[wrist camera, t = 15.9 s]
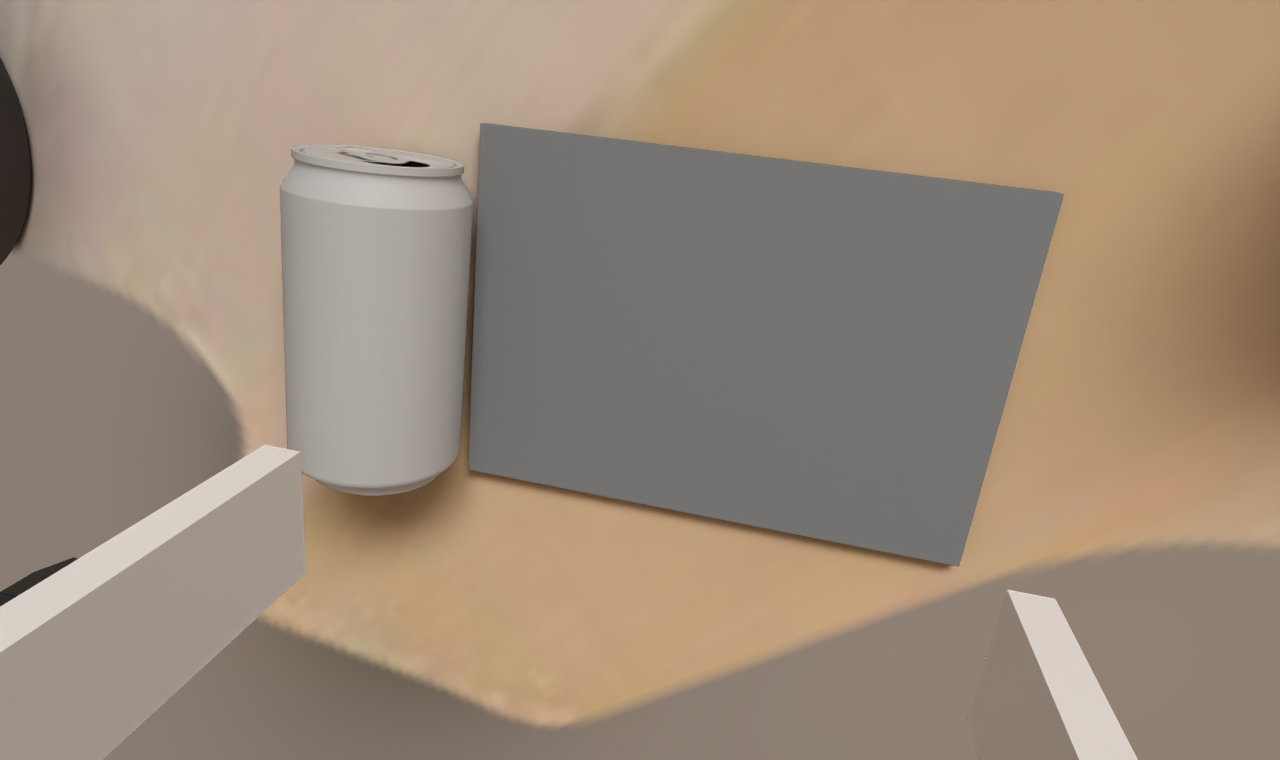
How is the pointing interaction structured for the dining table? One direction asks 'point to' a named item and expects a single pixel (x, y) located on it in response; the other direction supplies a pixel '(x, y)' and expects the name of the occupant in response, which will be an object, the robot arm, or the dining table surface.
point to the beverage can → (374, 314)
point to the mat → (748, 333)
